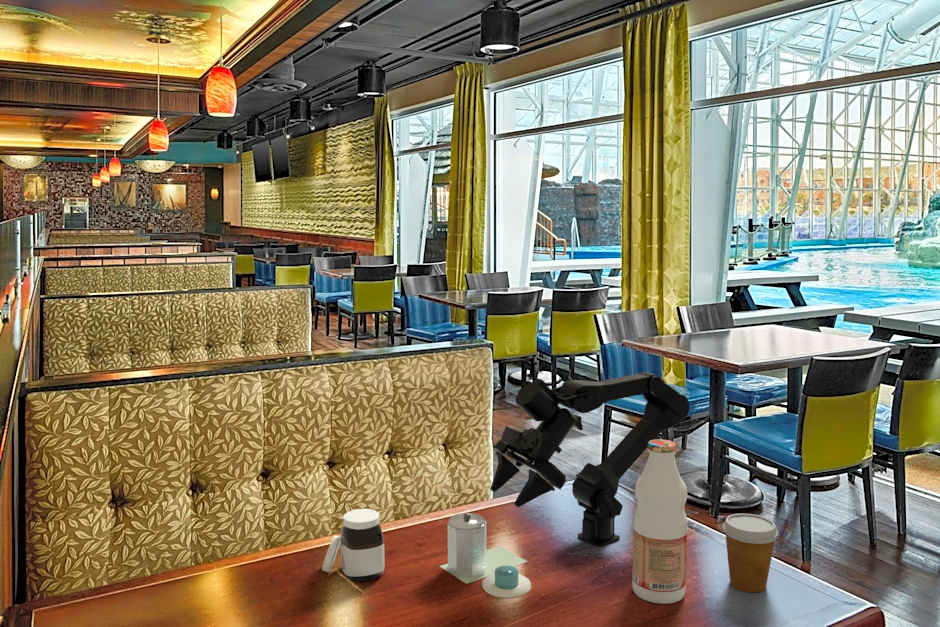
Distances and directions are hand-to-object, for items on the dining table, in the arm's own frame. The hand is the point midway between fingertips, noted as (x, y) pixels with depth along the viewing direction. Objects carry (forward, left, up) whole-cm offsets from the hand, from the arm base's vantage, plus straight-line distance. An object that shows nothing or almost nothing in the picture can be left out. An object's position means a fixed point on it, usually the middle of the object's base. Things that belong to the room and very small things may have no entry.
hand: (503, 498), depth 148 cm
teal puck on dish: (+6, +8, -13) cm, 17 cm away
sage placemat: (+4, -1, -13) cm, 14 cm away
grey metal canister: (+8, -1, -13) cm, 15 cm away
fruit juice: (-15, +27, -13) cm, 33 cm away
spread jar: (+26, -14, -13) cm, 33 cm away
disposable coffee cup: (-30, +35, -13) cm, 48 cm away
